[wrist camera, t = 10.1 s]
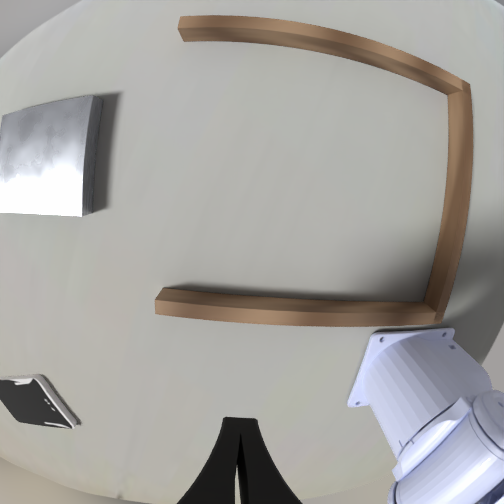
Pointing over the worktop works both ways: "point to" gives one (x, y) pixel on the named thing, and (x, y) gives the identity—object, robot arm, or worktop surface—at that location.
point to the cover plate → (50, 157)
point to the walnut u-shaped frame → (454, 203)
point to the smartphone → (34, 402)
